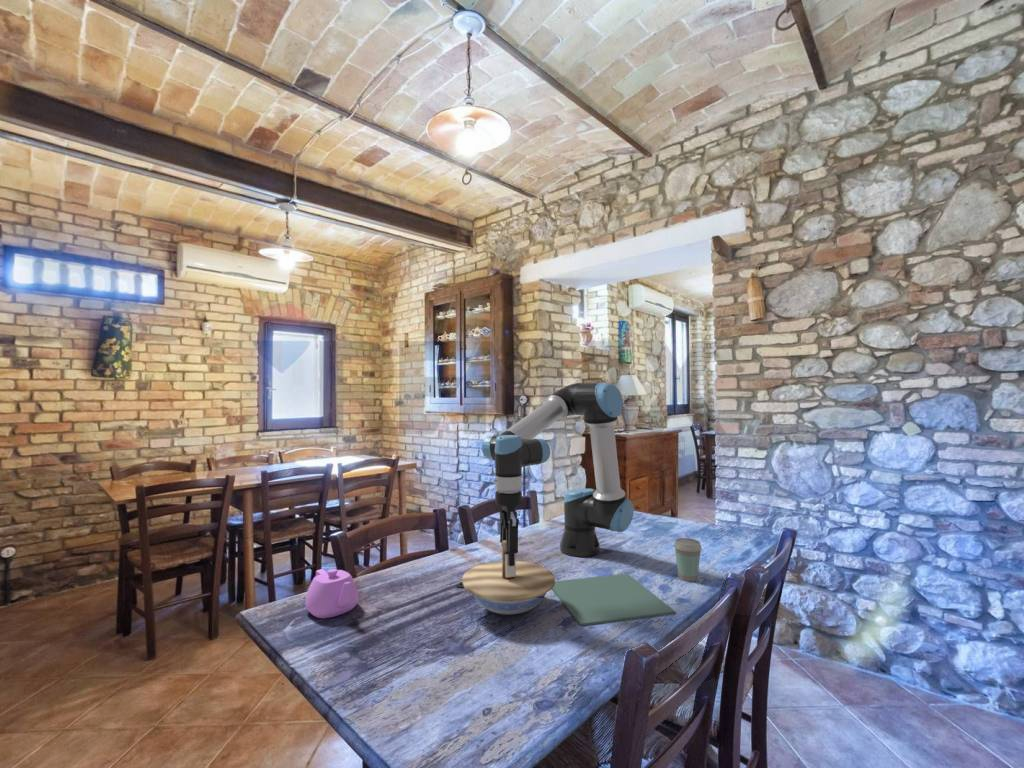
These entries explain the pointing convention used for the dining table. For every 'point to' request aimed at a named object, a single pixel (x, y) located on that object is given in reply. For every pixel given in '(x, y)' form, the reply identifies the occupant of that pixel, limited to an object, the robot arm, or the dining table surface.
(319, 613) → the teapot
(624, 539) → the dining table surface
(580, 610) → the mat
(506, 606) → the ramen bowl
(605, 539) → the dining table surface
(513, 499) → the robot arm
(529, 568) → the lid
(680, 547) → the coffee cup
